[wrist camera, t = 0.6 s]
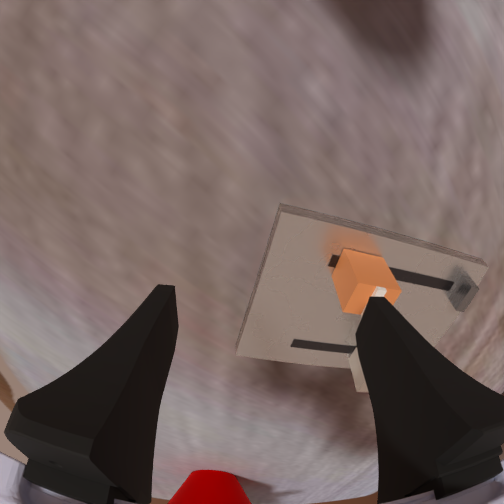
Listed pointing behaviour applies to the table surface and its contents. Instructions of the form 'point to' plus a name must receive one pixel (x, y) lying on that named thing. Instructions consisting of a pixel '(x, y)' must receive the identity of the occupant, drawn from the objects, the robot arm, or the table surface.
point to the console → (325, 296)
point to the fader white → (357, 372)
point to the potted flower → (210, 489)
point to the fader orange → (363, 281)
